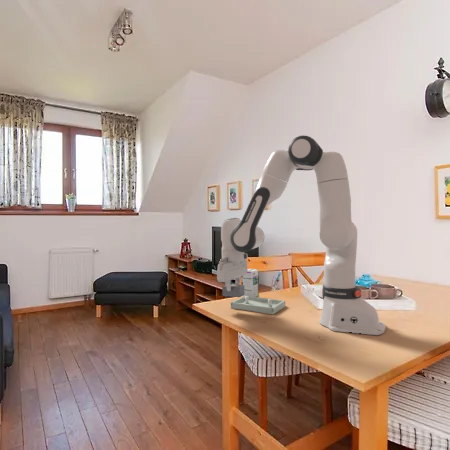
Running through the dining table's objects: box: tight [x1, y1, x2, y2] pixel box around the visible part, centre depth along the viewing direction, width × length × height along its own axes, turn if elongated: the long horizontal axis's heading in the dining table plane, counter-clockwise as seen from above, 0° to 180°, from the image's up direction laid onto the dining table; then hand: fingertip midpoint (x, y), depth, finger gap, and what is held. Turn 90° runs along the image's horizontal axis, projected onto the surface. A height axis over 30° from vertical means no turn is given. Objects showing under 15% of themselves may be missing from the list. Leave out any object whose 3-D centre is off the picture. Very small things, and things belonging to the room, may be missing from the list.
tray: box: [230, 296, 286, 315], centre depth 145 cm, size 20×14×4 cm
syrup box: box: [242, 268, 260, 297], centre depth 159 cm, size 6×6×14 cm
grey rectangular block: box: [221, 283, 245, 298], centre depth 139 cm, size 8×5×4 cm, turn 63°
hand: (233, 289), depth 139 cm, fingers closed on grey rectangular block, 5 cm apart
